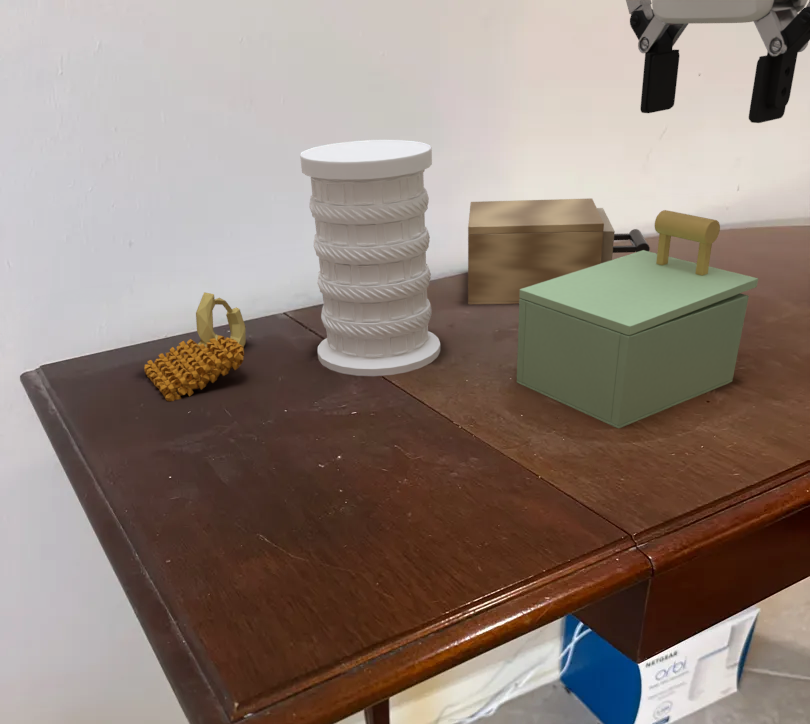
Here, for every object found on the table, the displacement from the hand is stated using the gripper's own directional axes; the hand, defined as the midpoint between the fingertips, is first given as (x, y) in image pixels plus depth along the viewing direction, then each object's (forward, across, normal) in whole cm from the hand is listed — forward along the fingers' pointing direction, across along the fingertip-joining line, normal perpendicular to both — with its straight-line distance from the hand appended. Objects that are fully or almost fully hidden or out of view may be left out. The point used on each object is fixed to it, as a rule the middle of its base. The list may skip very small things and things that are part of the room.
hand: (708, 115), depth 60 cm
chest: (+20, 0, +6) cm, 21 cm away
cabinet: (+20, +25, -6) cm, 33 cm away
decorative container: (+20, +20, +18) cm, 33 cm away
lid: (+12, 0, +6) cm, 13 cm away
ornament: (+20, +27, +33) cm, 46 cm away
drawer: (+19, +23, -8) cm, 31 cm away
